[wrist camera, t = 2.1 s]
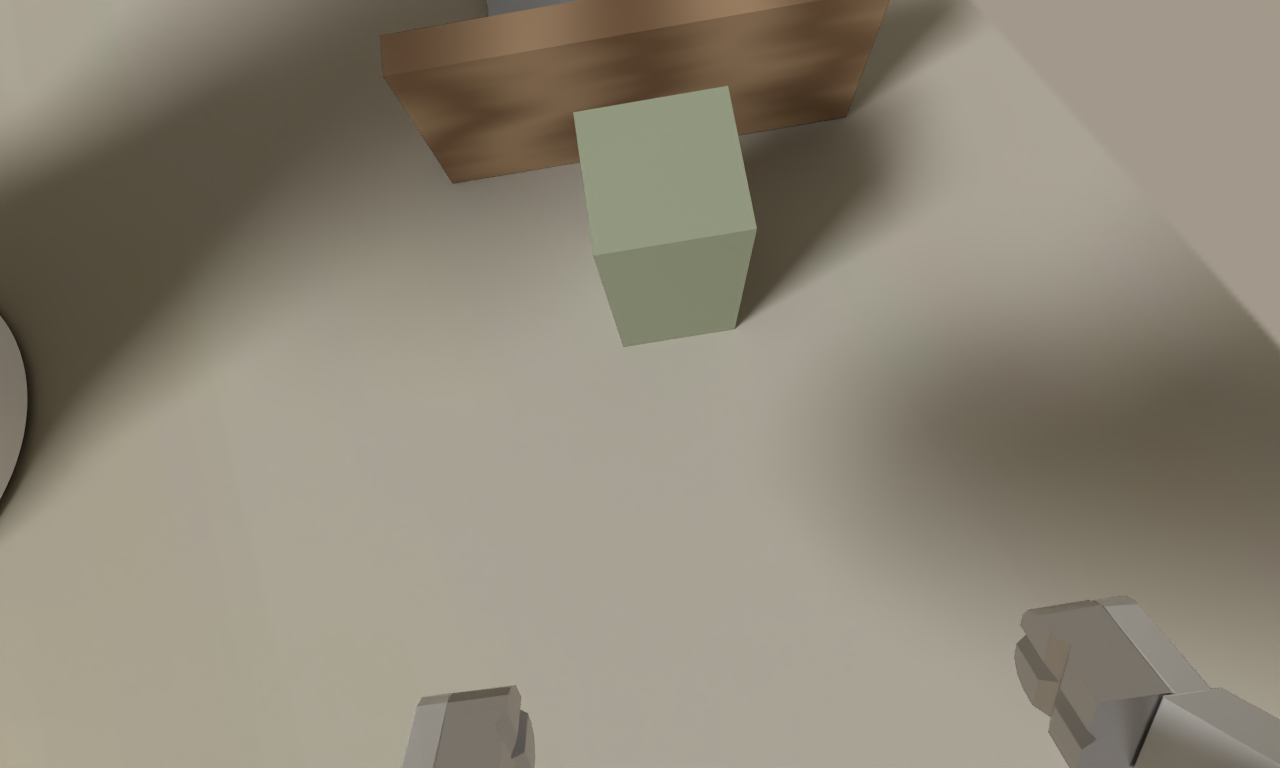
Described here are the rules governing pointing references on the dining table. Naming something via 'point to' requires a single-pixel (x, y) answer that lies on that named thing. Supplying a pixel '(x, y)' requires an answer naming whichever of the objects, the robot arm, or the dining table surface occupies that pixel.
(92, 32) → the dining table surface
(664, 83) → the walnut screen
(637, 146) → the olive letter block
